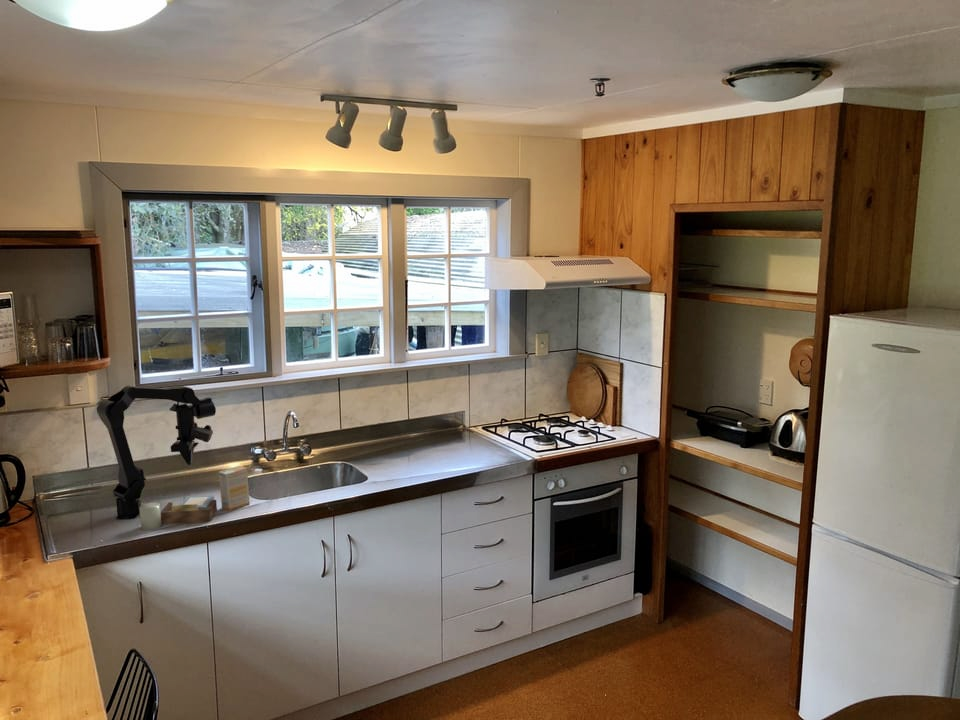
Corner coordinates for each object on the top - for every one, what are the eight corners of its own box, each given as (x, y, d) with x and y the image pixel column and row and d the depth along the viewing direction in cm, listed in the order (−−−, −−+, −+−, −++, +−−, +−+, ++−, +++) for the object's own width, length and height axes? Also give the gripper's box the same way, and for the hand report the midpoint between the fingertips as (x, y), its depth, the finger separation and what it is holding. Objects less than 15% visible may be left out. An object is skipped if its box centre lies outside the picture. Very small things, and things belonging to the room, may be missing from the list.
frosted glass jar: (139, 531, 239) (136, 509, 238) (144, 524, 245) (142, 503, 244) (158, 529, 240) (156, 508, 239) (164, 522, 246) (162, 502, 245)
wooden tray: (161, 524, 244) (159, 506, 243) (169, 513, 254) (168, 496, 253) (210, 521, 246) (209, 503, 245) (217, 511, 255) (215, 494, 254)
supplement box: (242, 501, 265) (239, 465, 262) (250, 504, 261) (247, 467, 259) (220, 508, 258) (218, 471, 256) (228, 511, 255) (226, 473, 253)
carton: (178, 522, 246) (176, 507, 245) (187, 510, 257) (186, 496, 256) (206, 521, 247) (205, 506, 246) (215, 509, 258) (213, 495, 257)
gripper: (202, 427, 257) (205, 471, 260) (216, 414, 275) (219, 455, 278) (168, 428, 256) (172, 473, 259) (184, 415, 274) (188, 457, 277)
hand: (189, 464), depth 268 cm, fingers closed
